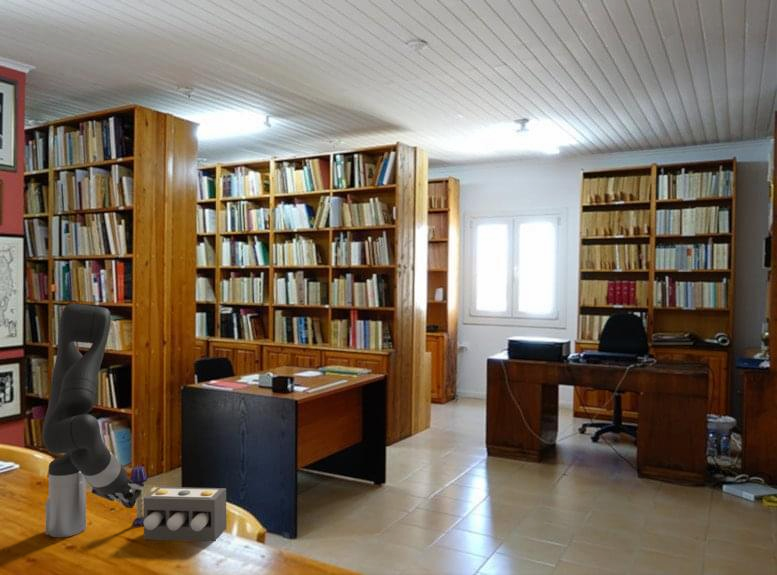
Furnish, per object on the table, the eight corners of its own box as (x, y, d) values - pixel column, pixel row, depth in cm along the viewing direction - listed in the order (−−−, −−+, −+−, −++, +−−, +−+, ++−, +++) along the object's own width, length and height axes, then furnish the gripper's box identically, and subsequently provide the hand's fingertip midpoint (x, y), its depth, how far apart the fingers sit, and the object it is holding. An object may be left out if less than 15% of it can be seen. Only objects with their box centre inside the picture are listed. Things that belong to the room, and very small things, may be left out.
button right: (190, 531, 158) (190, 517, 158) (200, 521, 164) (200, 508, 164) (203, 531, 158) (203, 518, 158) (212, 521, 164) (212, 508, 164)
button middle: (167, 530, 158) (166, 517, 158) (177, 520, 165) (177, 507, 165) (180, 530, 158) (179, 517, 158) (190, 521, 165) (189, 508, 165)
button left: (143, 529, 159) (143, 516, 159) (154, 520, 165) (154, 507, 165) (156, 530, 159) (156, 516, 159) (167, 520, 165) (167, 507, 165)
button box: (143, 539, 163) (143, 496, 162) (159, 526, 172) (158, 484, 171) (214, 541, 161) (214, 497, 161) (226, 528, 170) (226, 486, 170)
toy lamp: (141, 528, 170) (140, 470, 170) (126, 526, 171) (126, 469, 171) (151, 521, 175) (150, 465, 175) (137, 520, 176) (136, 464, 176)
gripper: (136, 456, 139) (161, 490, 151) (82, 456, 140) (111, 489, 152) (125, 487, 134) (151, 519, 146) (69, 486, 135) (100, 518, 147)
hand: (131, 504), depth 149 cm, fingers closed
